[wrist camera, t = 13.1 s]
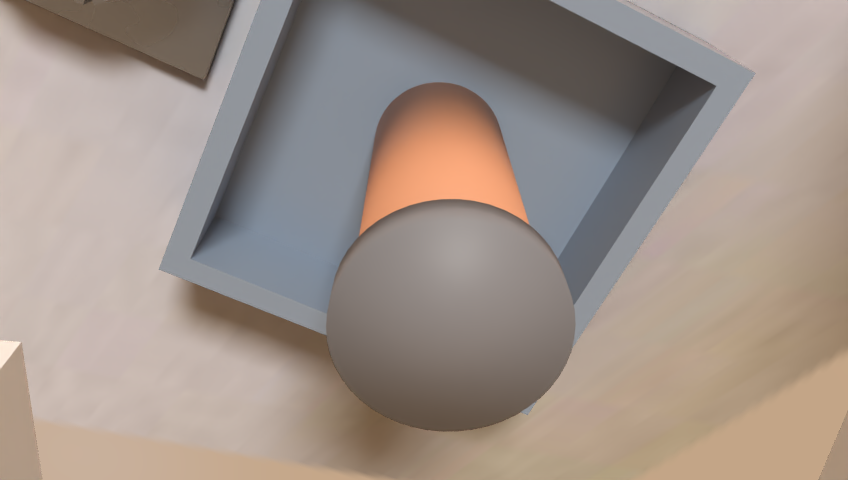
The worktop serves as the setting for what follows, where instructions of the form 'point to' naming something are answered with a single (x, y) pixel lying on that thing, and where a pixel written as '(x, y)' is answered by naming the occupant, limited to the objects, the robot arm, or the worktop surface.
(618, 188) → the bin
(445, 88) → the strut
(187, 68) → the socket base
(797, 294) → the worktop surface
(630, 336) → the worktop surface
